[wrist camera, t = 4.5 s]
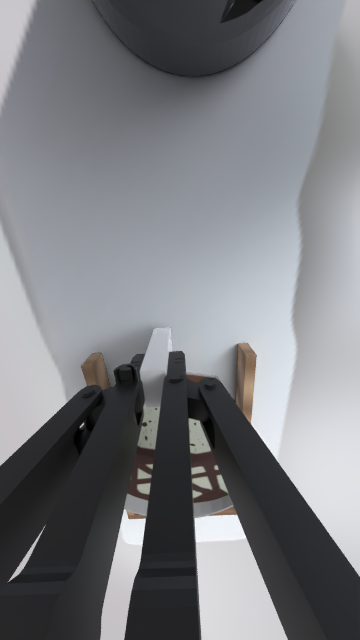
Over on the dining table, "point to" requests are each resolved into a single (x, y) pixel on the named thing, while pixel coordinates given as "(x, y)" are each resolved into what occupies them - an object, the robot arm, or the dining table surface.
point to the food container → (205, 471)
